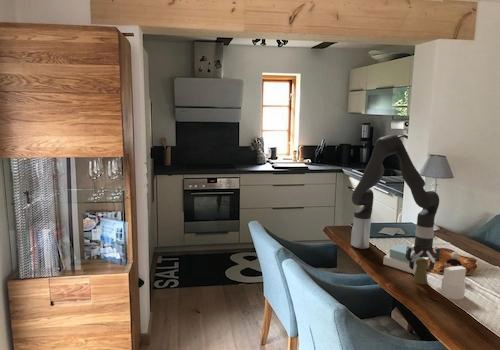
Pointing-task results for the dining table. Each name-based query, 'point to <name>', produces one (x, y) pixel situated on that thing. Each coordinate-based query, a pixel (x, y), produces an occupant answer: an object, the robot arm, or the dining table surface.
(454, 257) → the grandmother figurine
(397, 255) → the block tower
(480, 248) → the dining table surface
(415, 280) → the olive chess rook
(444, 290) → the white upright block
